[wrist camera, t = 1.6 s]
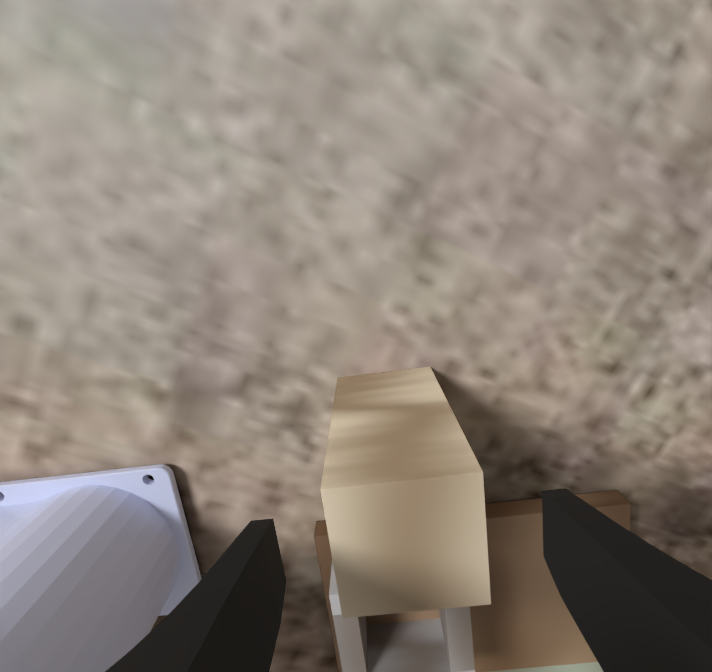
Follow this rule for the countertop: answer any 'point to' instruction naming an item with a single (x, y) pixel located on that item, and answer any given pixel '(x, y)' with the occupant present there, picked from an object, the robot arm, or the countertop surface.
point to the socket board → (477, 609)
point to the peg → (403, 498)
